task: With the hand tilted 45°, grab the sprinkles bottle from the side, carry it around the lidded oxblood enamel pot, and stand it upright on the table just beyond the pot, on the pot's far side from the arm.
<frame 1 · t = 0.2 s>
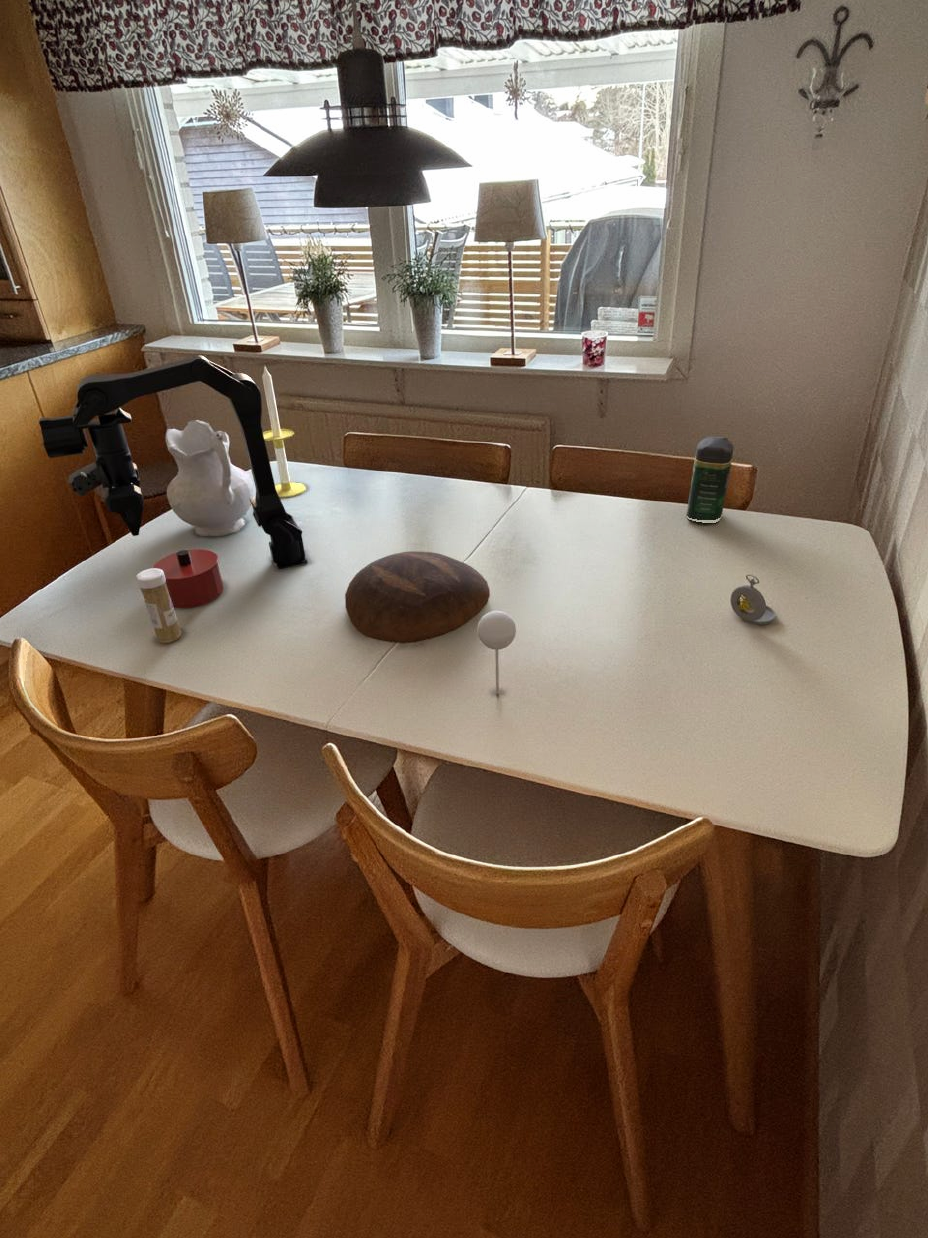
hand: (134, 526, 140), 15 cm above the table, tool pointing down, fingers open, 9 cm apart
lollipop: (497, 694, 116), on the table
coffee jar: (703, 518, 168), on the table
sprinkles bottle: (169, 638, 133), on the table
ceramic pitcher: (222, 528, 174), on the table
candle: (287, 491, 192), on the table
pot: (193, 593, 147), on the table
pocket watch: (750, 619, 132), on the table
pot lid: (186, 565, 143), point 6 cm above the table, touching pot
bread: (417, 607, 139), on the table
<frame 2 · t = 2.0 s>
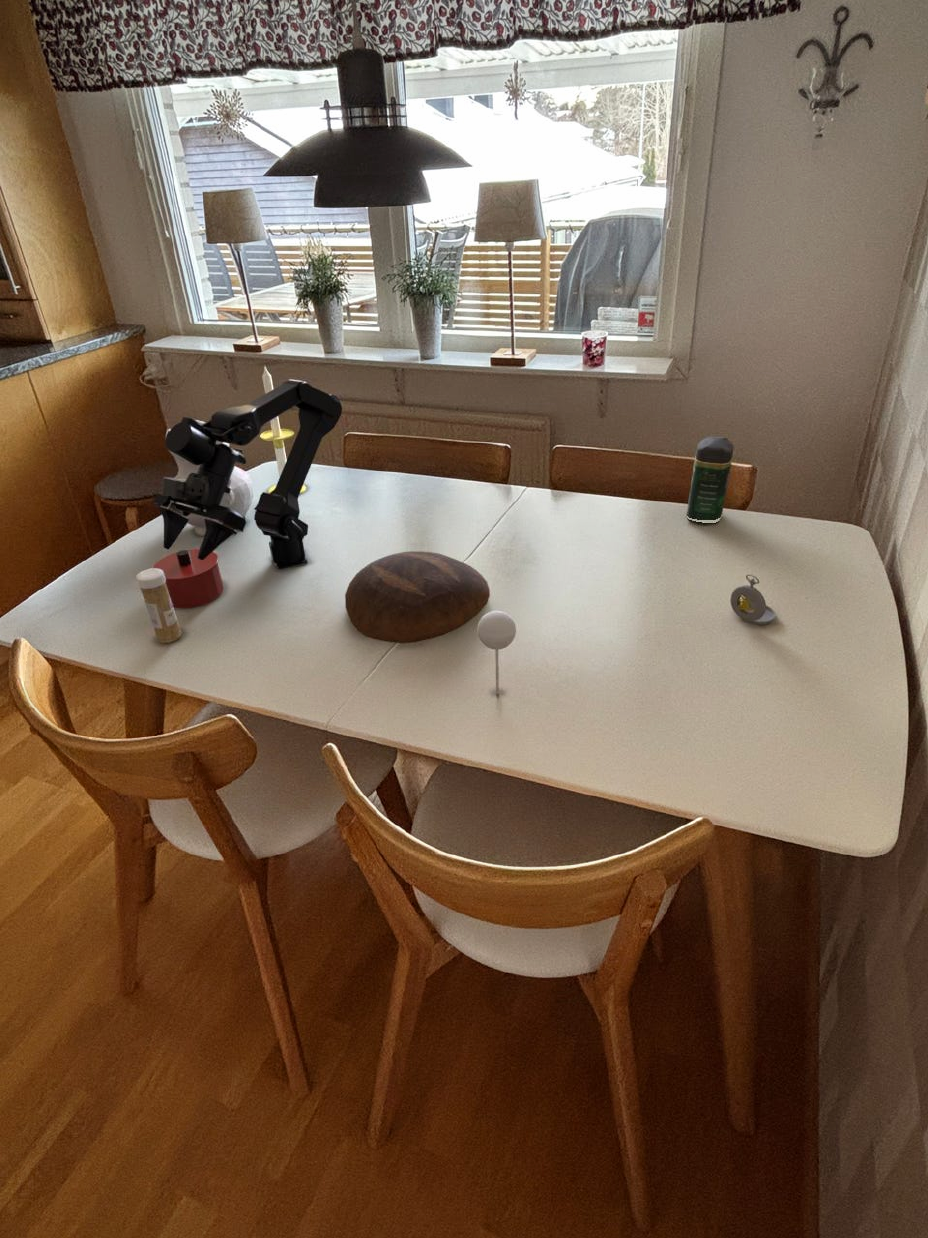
hand: (182, 554, 132), 13 cm above the table, tool tilted 45°, fingers open, 9 cm apart
nothing on the table moved.
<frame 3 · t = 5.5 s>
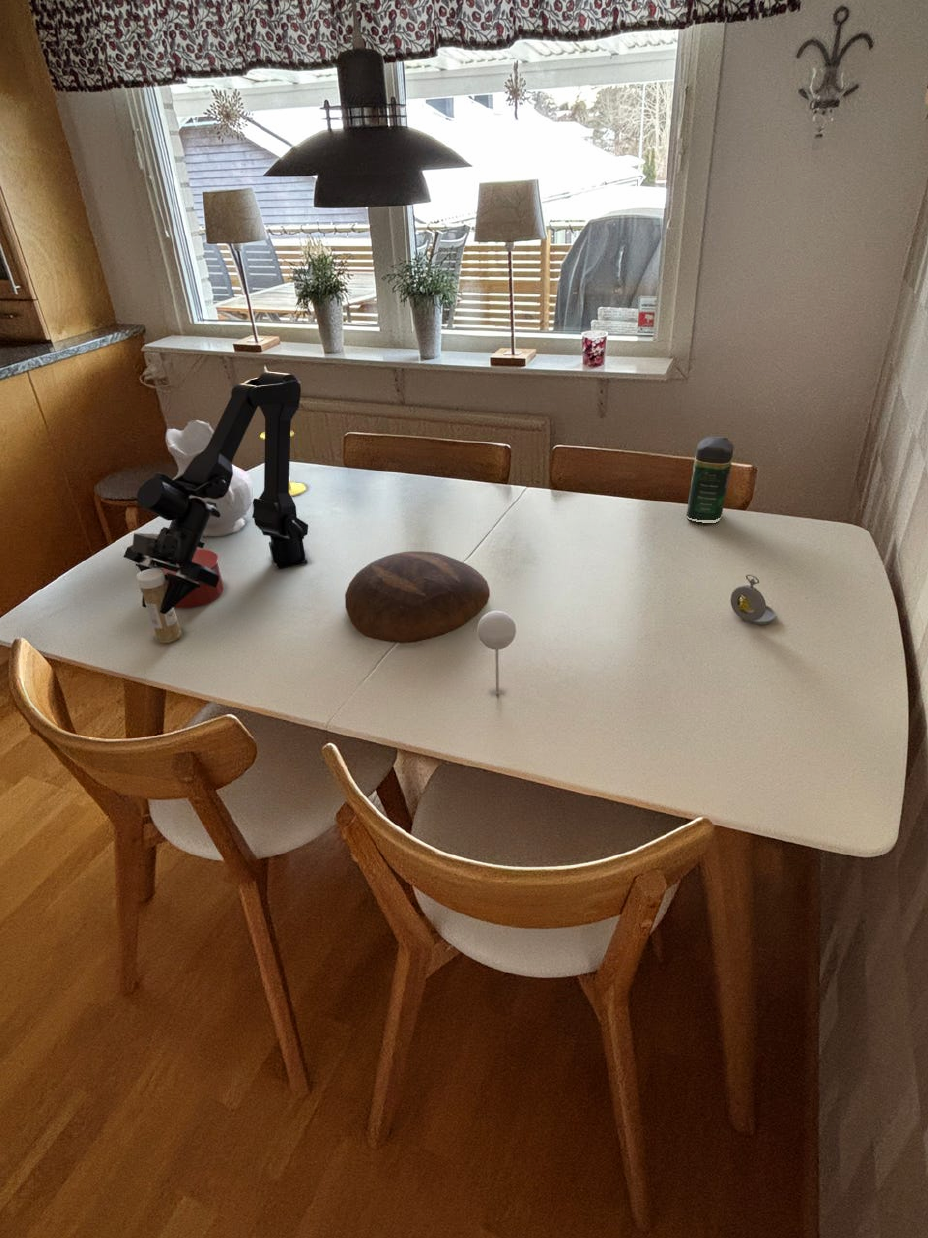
hand: (153, 610, 129), 7 cm above the table, tool tilted 45°, fingers closed on sprinkles bottle, 4 cm apart
sprinkles bottle: (169, 638, 133), on the table, touching gripper
everything else where it was.
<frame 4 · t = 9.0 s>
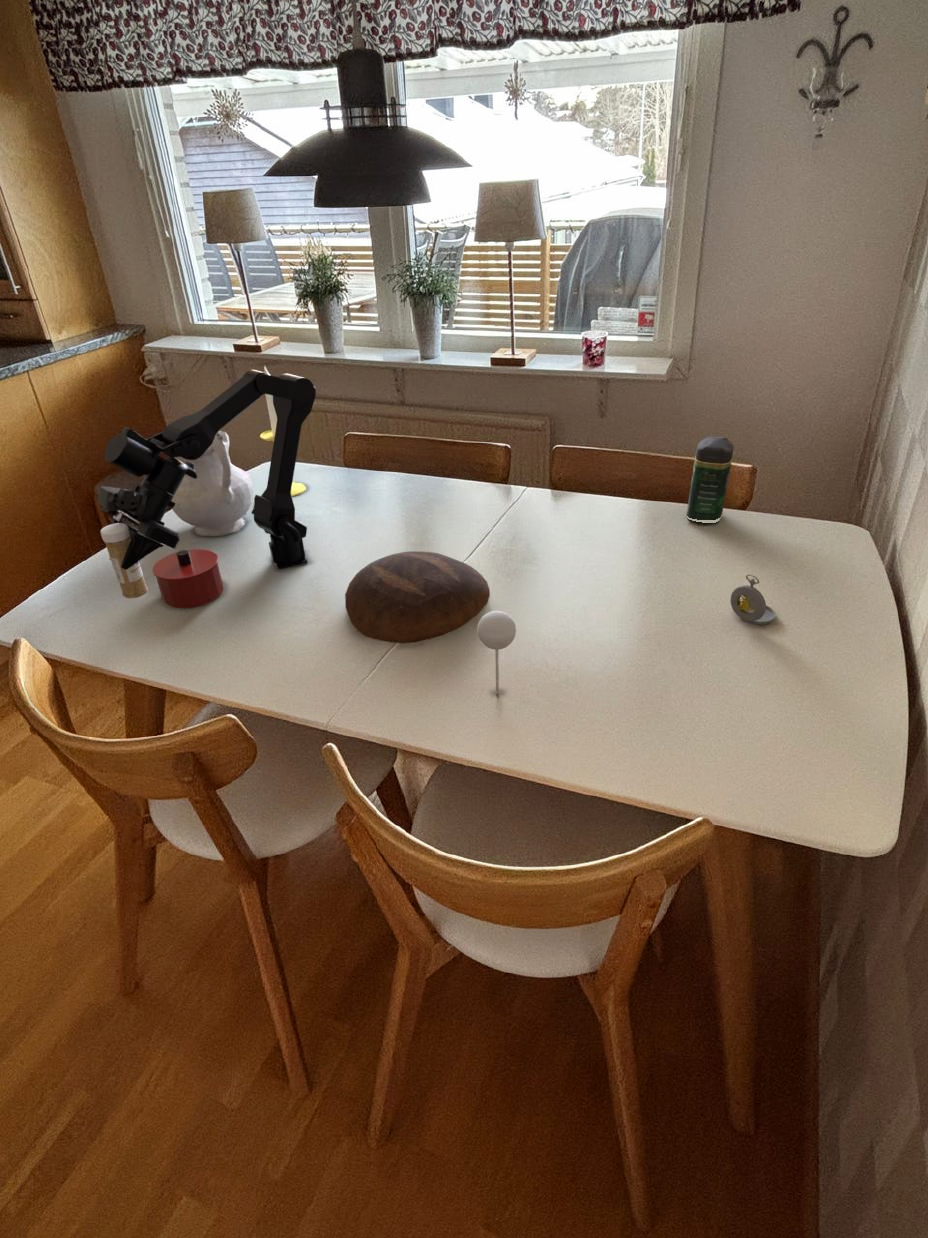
hand: (117, 564, 130), 13 cm above the table, tool tilted 45°, fingers closed on sprinkles bottle, 4 cm apart
sprinkles bottle: (136, 594, 134), point 6 cm above the table, touching gripper
everything else where it was.
when the fingers open (7 cm above the table, at t = 12.5 s): sprinkles bottle stays where it is, on the table.
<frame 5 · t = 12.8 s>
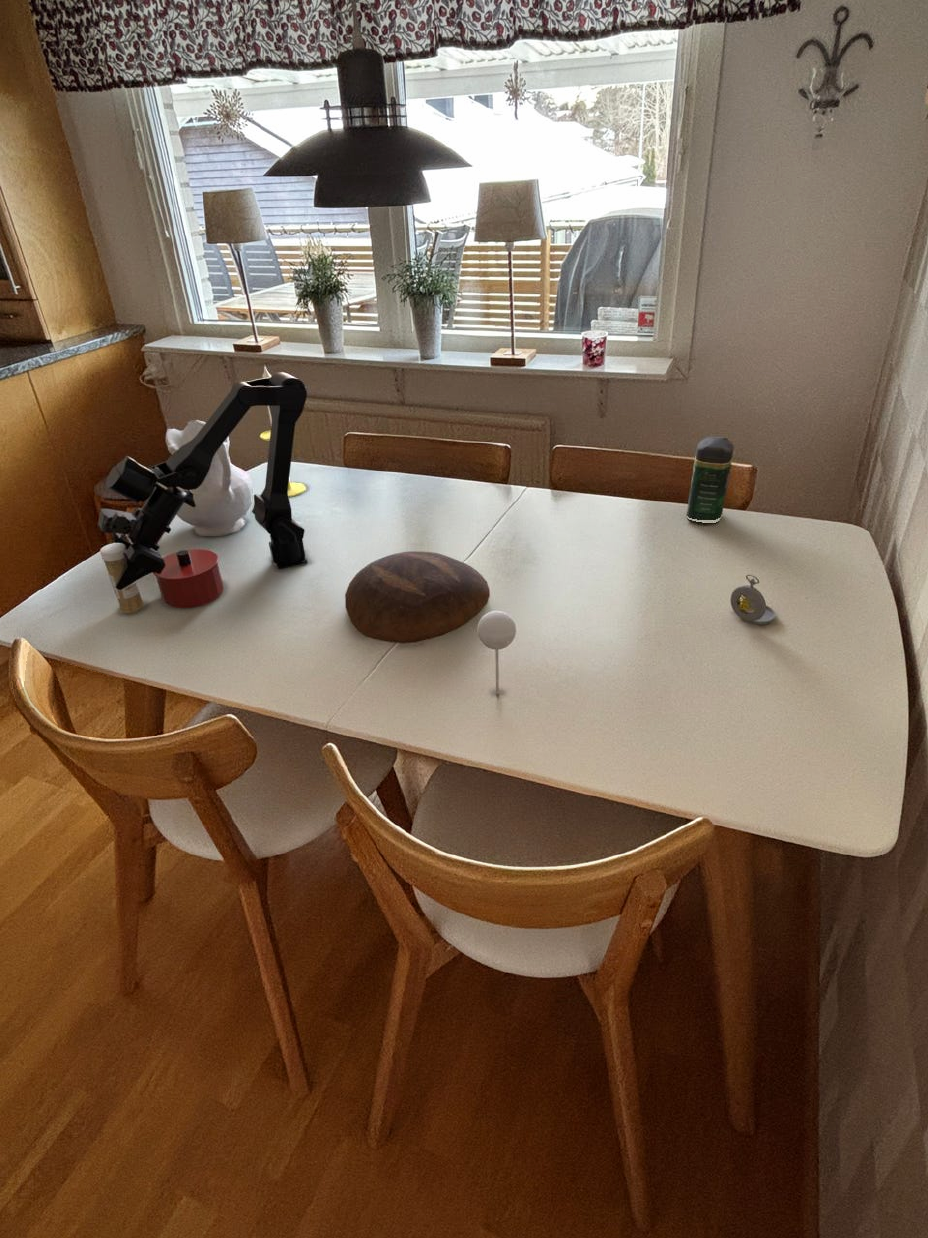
hand: (114, 581, 138), 7 cm above the table, tool tilted 45°, fingers open, 7 cm apart
sprinkles bottle: (132, 609, 143), on the table
everything else where it was.
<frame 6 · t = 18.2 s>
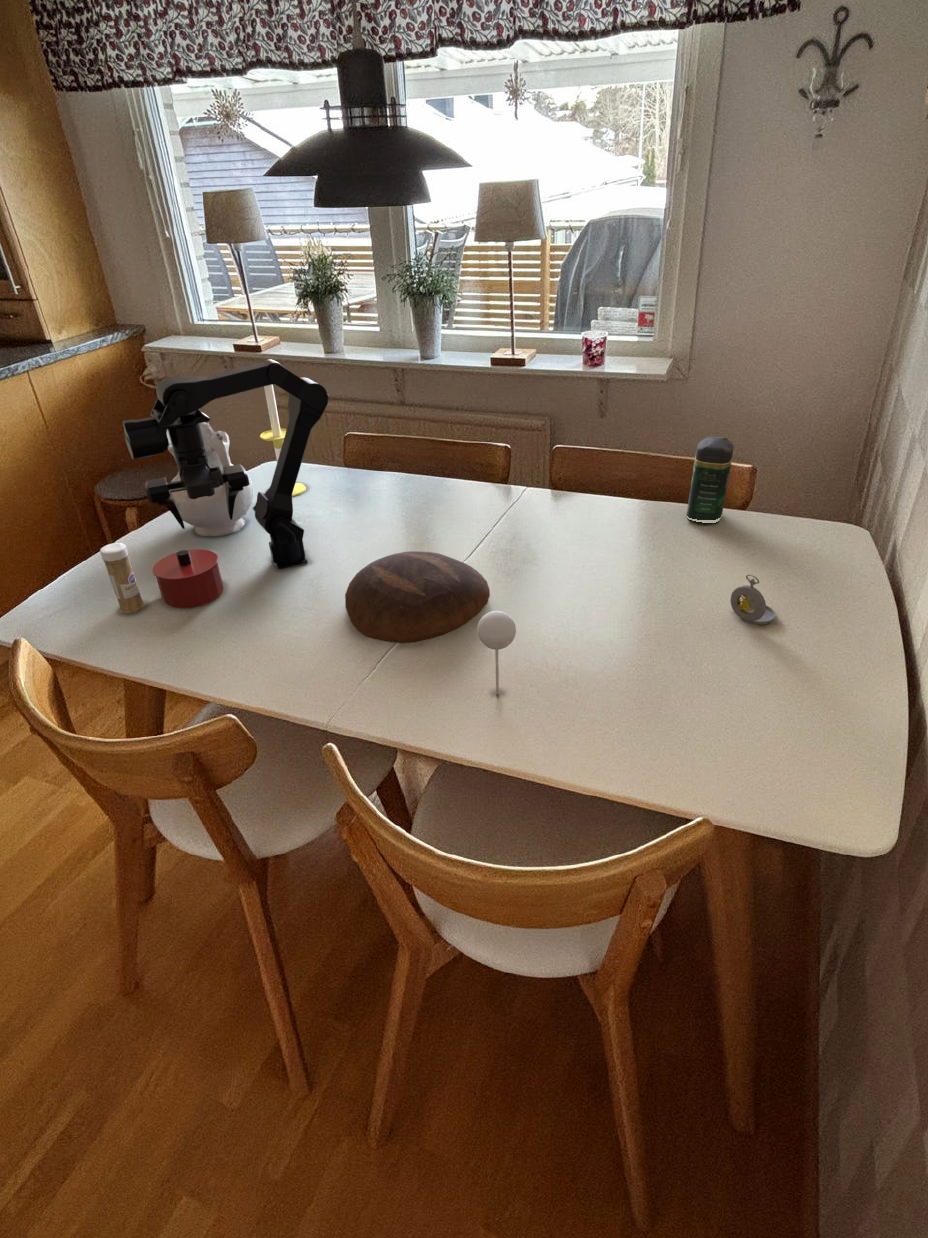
hand: (207, 523, 144), 13 cm above the table, tool pointing down, fingers open, 9 cm apart
nothing on the table moved.
at the end: sprinkles bottle inside the target area on the table beside the pot (0.5 cm from its centre), on the table; sprinkles bottle tilted 0°; the gripper is holding nothing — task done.
